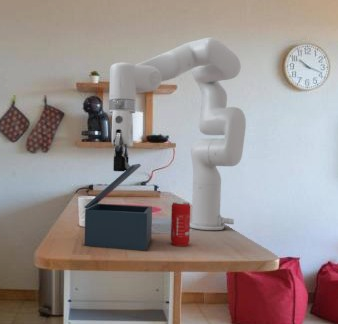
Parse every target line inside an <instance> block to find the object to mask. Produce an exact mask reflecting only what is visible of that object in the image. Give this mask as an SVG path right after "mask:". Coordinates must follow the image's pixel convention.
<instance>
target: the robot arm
mask: <svg viewBox="0 0 338 324" xmlns="http://www.w3.org/2000/svg"><path fill="white" fill-rule="evenodd" d="M189 71H191V74H192V77H193V79H194V81H195V83H196V84H197V85H198V87H199V89H200V92H201V97H202V98H201V107H200V115H199V122H198V123H199V124H198V128H199V131H200V133H201V134H203V135H205V136H224V138H218V137H217V138H200V139H198V140H196V141H195V142H193V144H192V146H191V148H190V156H191V163H192V205H191V207H192V209H191V220H190V229H194V230H202V231H222V230H224V229H225V225H234V224H235V219H234V218H230V217H224V216H223V217H222V214H221V196H222V194H221V193H222V177H221V174H220V172H219V170H218V168H217V167H235V166H237V165H239V163H240V162H241V160H242V156H243V151H244V143H245V136H246V126H247V121H246V115H245V113H244V111H243V110H242V109H241V108H240V107H235V106H229V107H227V103H228V94H227V92H226V90H225V88H224V87H223V86H222V85H221V83H220V82H221V81H228V80H232V79H235V78H236V77H237V76H238V75H239V74H240V72H241V61H240V59H239V57H238V56H237V54H236V53H235V52H234V51H232V50H231V48H229V47H227V45H225V44H224V43H223V42H222V41H220V40H219V39H217V38H214V37H211V36H209V37H204V38H200V39H196V40H192V41H188V42H185V43H184V44H181V45H179V46H177V47H175V48H172V49H170V50H168V51H166V52H163V53H160V54H159V55H155V56H153V57H152V58H149V59H147V60H144V61H142V62H139V63H136V64H133V63H131V62H124V61H123V62H122V61H121V62H114V63H112V65H111V66H110V67H109V89H108V90H109V95H108V96H109V97H108V98H109V99H108V113H109V114H112V115H111V116H112V117H111V145H112V147H114V150H113V168H112V169H113V170H112V171H113V172H125V171H126V170H127V169H126V168H125V157H126V162H127V163H128V164H129V148H131V147H133V146H134V124H133V123H134V121H133V119H134V117H133V114H135V113H136V102H137V101H136V100H137V99H136V97H137V95H136V94H141V93H142V94H143V93H149V92H153V91H155V90H157V89H158V88H159V87H160V86H161V84H162V82H166V81H169V80H173V79H175V78H176V79H177V77H180V76H181V75H183V74H185V73H187V72H189ZM124 156H125V157H124Z"/></svg>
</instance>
